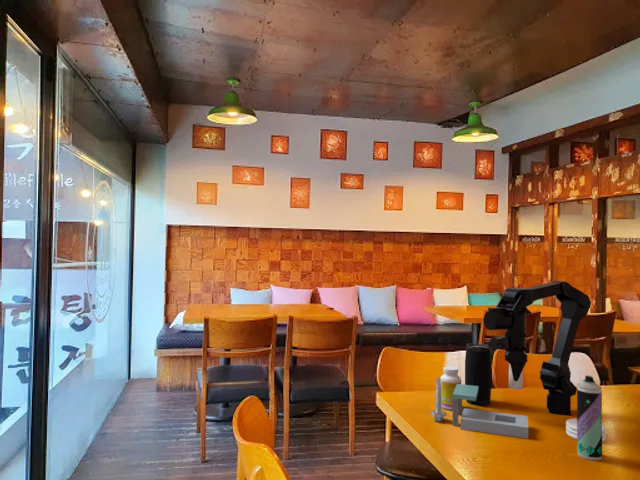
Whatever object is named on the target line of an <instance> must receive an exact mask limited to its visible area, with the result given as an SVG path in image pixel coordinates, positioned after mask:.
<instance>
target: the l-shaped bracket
mask: <svg viewBox="0 0 640 480" xmlns="http://www.w3.org/2000/svg"><path fill="white" fill-rule="evenodd" d="M477 394H478V386H472V385H465V384H462V383H461V384H457V385H456V387H455V390H454V392H453V410H452V426H454V427H458V426H459V416H462V413H463V400H465V401H466V400H472V401H476V398H477Z"/></svg>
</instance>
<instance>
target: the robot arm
mask: <svg viewBox="0 0 640 480" xmlns="http://www.w3.org/2000/svg"><path fill="white" fill-rule="evenodd" d="M554 296H555V299H556V300H558V301H559V302H560V311H561V315H562V320H561V322H560V325H559V329H558V334H557V337H556V341H555V343H554V347H553V351H552V353H551V358H550V359H549V360H548V361H542V363H541V368H540V371H539V374H540V375H539V379H540V381H541V384H542V387H543V389H544V390H546V391H548V393H547V394H546V409H547V410H548V412H549V413H551V414H559V415H568V416H572V415H573V414H572V409H571V408H572V399H571V398H572V397H573V396H577V387H576V385H575V384H574V383H573V382H572V381H571V377H572V376H571V375H572V372H571V369H570V366H569V361H570V358H571V354H572V351H573V346H574V342H575V339H576V337H577V336H576V335H577V332H578V328H579V325H580V322H581V320H583V319H584V318H585V317H586V316H587V315H588V313H589V311H590V308H591V305H592V300H591V299H590V297H589V296H588V294H586V293H584V292H583V291H582V290H579V289H578V288H576V287H574V286H573V285H571V284H570V283H569V282H567V281H563V280H554V281H551V282H548V283H544V284H538V285H535V286H530V287H509V288H505V289H504V291H503V295H501V298H500V299H499V301H498V302H497V304H496V305H495V307H488V308H487V312H485V313H484V316H483V318H482V320H483V321H482V322H483V325H484V327H485V329H487V331H500V330H501V331H502V330H505V331H504V335H500V336H494V337H490V338H489V339H487V340H486V344H487V345H488V347H489V349H490V352H494V351H496V350H499V349H503V348H504V350H505V351H504V361H506V362H507V363H508V364H509V363H510V365H511V369H512V374H513V379H514V381H518V379H519V377H520V375H521V373H522V370H524V368H525V366H526V363H528V353H527V346H526V345H527V343H526V342H527V339H526V338H527V330H526V329H527V328H526V325H527V315H532V311H531V310H529V308H527V307H530V306H531V305H533V304H534V303H535V301H540V300H542V299H547V298H550V297H554Z"/></svg>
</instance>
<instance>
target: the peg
mask: <svg viewBox="0 0 640 480" xmlns="http://www.w3.org/2000/svg"><path fill="white" fill-rule="evenodd" d="M523 370H524V369H523ZM523 370H522V373H521V375H520V377H519V379H518V381H514V379H513V374H512V369H511V365H510V363H509V362H508V388H510V389H513V390H523V387H524V386H523V382H524V381H523V380H524V378H523V377H524V376H523V373H524V371H523Z"/></svg>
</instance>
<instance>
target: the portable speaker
mask: <svg viewBox="0 0 640 480" xmlns="http://www.w3.org/2000/svg"><path fill="white" fill-rule="evenodd" d="M491 354H492V353H491V351H490V349H489V347H488V344H487V343H481V344H480V343H479V344H476V343H470V342H469V343H466V345H465V359H464V385H472V386H478V394H477V398H476V401H472V400H465V401H466V403H467V404H469V405H472V404H473V403H474V404H480V405H481V406H483V407H486V406H489V405H491V396H492V356H491Z"/></svg>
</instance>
